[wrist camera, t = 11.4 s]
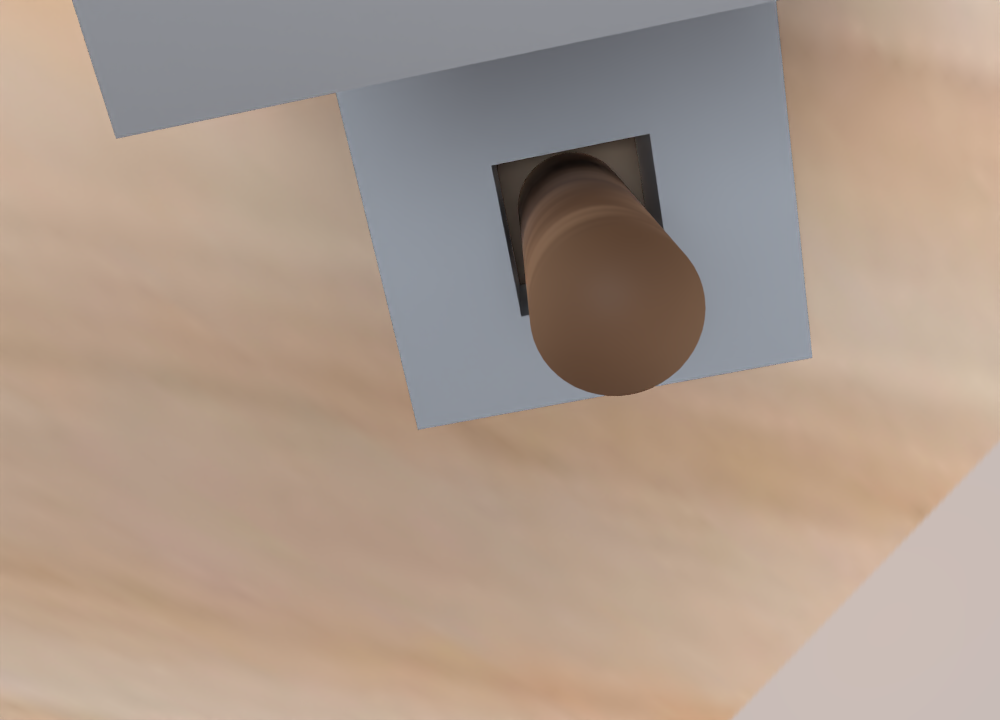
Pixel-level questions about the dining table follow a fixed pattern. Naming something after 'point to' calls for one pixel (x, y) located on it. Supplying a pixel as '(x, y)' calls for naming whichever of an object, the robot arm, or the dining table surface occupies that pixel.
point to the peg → (604, 280)
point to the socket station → (502, 152)
